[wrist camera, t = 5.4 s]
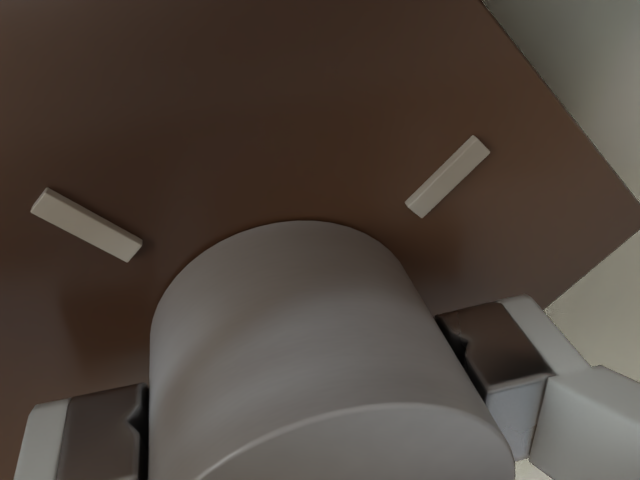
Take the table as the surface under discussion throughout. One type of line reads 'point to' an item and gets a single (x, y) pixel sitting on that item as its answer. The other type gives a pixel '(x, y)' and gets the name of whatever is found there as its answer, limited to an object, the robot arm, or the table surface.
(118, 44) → the dial panel
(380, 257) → the dial
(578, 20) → the table surface
